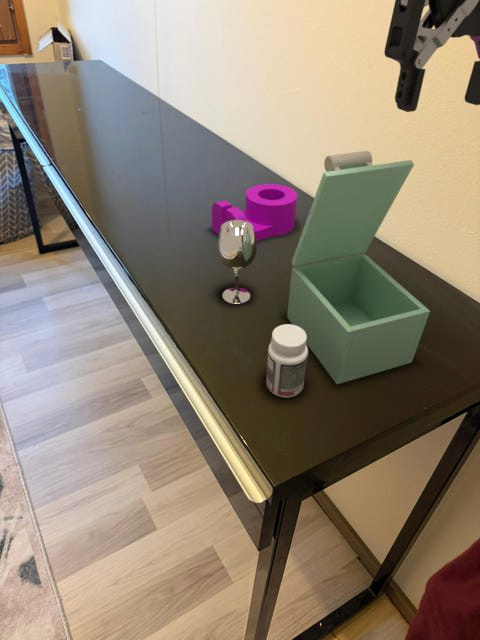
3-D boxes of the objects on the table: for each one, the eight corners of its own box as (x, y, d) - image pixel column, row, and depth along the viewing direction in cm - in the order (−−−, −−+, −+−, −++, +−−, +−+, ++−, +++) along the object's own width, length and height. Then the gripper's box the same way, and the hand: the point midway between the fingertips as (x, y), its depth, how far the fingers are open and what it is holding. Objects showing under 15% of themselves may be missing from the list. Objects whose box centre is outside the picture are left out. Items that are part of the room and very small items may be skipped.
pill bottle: (309, 380, 58) (317, 330, 53) (292, 404, 55) (299, 354, 50) (277, 366, 60) (281, 316, 55) (258, 388, 57) (261, 338, 52)
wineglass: (210, 296, 72) (208, 228, 64) (234, 281, 75) (235, 214, 68) (238, 311, 69) (239, 241, 62) (261, 294, 73) (265, 226, 65)
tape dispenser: (273, 208, 97) (275, 180, 93) (304, 227, 91) (307, 197, 87) (210, 228, 90) (209, 198, 86) (239, 249, 83) (239, 218, 79)
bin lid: (414, 164, 53) (392, 135, 55) (326, 176, 49) (306, 145, 52) (365, 252, 66) (349, 225, 68) (293, 266, 62) (278, 238, 65)
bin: (412, 362, 61) (430, 310, 55) (336, 384, 58) (348, 332, 52) (353, 301, 72) (363, 252, 66) (286, 317, 68) (291, 267, 63)
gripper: (460, -127, 31) (405, 123, 41) (605, -116, 35) (524, 109, 45) (393, -114, 37) (359, 104, 47) (526, -105, 41) (469, 93, 51)
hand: (440, 106), depth 46 cm, fingers open, 8 cm apart
